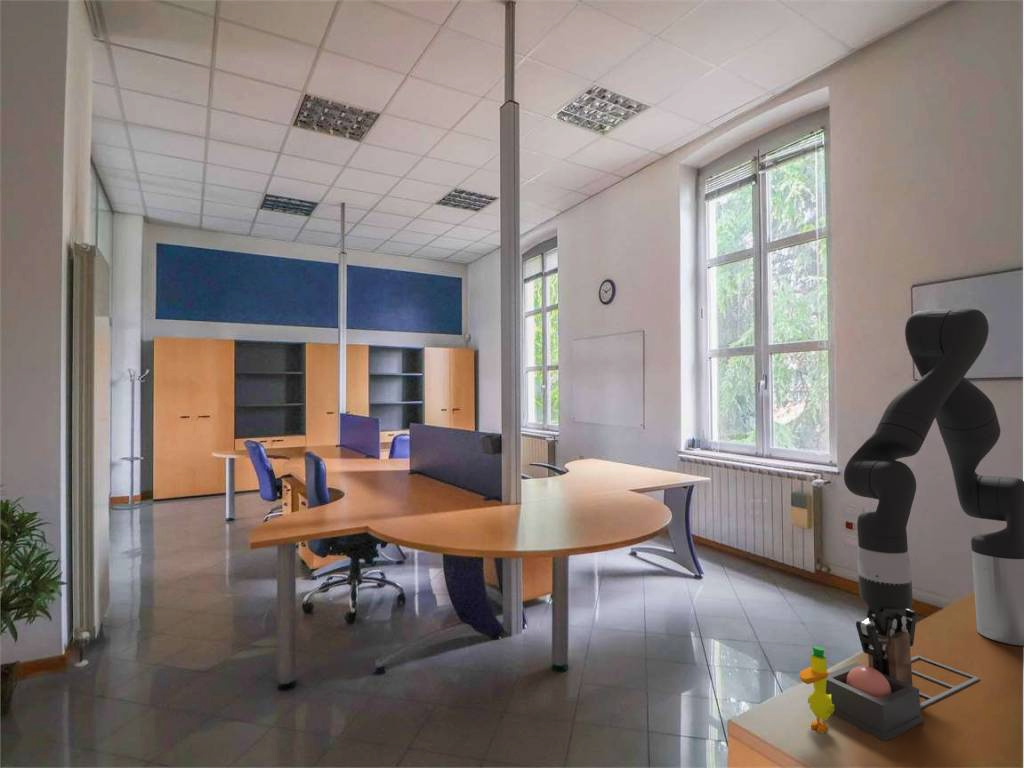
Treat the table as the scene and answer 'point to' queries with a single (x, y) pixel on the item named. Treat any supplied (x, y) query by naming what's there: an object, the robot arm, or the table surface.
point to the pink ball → (869, 681)
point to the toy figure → (818, 688)
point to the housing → (875, 705)
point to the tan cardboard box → (898, 657)
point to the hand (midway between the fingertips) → (890, 675)
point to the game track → (948, 692)
